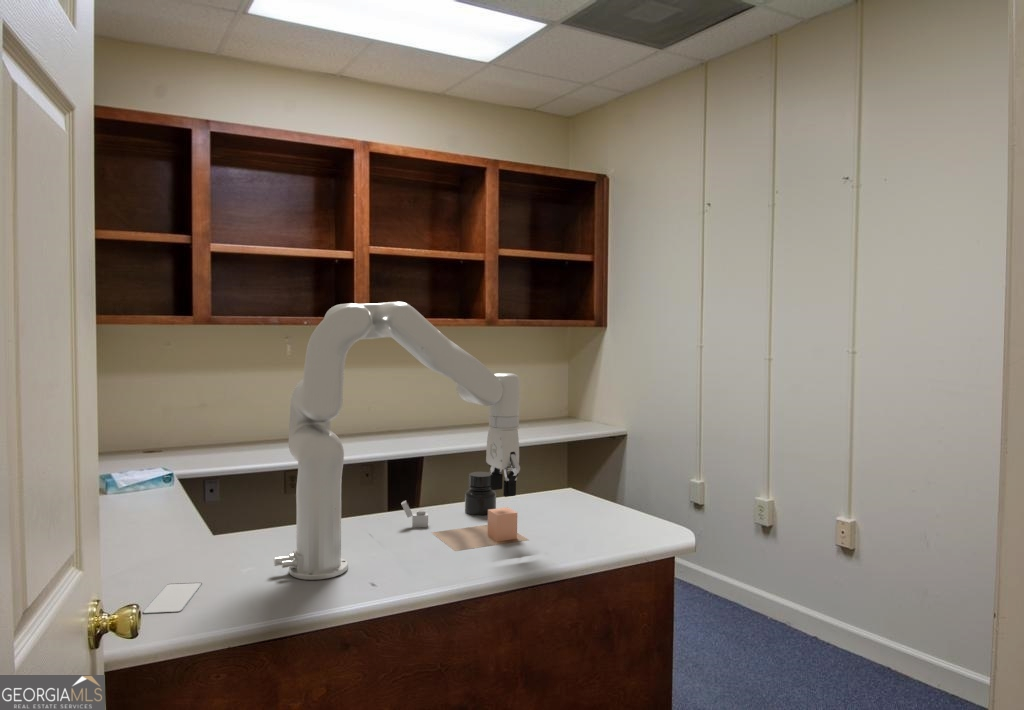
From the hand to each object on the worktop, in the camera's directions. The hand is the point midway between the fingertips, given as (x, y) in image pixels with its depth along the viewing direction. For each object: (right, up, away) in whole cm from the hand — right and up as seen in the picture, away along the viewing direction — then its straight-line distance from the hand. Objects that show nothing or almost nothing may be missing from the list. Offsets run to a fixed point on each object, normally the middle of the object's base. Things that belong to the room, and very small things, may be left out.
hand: (502, 492), depth 175 cm
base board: (-6, -13, +1) cm, 14 cm away
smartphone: (-65, -14, -38) cm, 76 cm away
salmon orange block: (0, -11, 0) cm, 11 cm away
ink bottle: (-7, -12, +24) cm, 28 cm away
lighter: (-24, -12, +9) cm, 28 cm away
